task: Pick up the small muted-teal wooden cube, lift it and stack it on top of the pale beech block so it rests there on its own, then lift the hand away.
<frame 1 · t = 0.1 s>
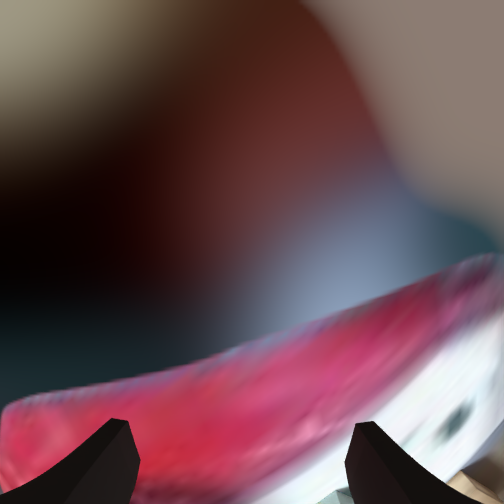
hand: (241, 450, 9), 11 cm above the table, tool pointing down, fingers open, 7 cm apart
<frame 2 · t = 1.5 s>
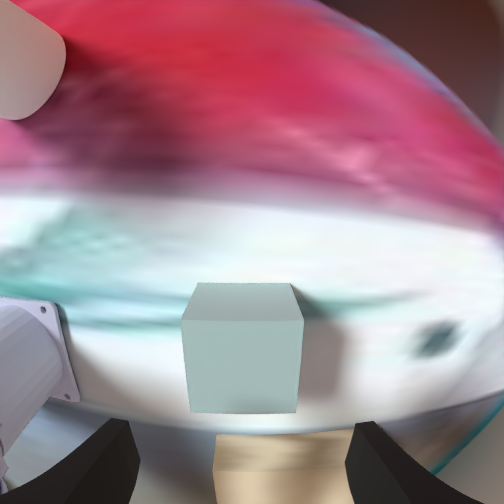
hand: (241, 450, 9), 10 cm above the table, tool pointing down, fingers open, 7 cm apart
can: (32, 75, 15), on the table
beech block: (293, 475, 22), on the table
teal cube: (243, 323, 18), on the table
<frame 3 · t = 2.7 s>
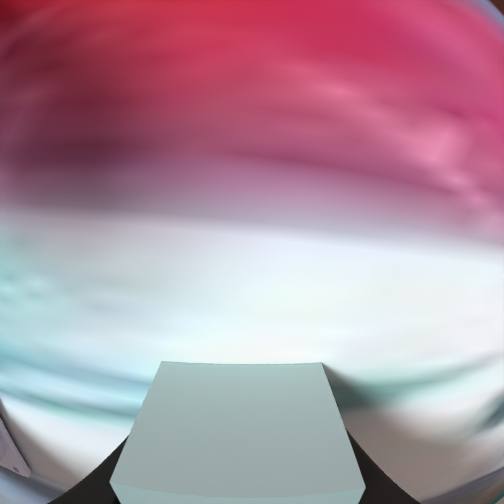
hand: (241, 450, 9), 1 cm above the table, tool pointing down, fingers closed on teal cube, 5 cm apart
teal cube: (241, 421, 10), on the table, touching gripper
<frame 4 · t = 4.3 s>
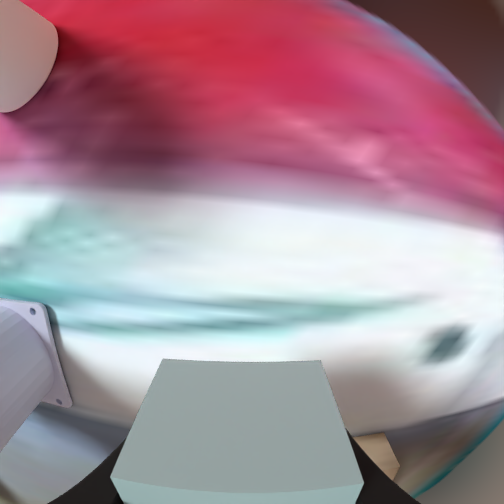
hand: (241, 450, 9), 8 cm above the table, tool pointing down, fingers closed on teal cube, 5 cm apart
can: (24, 66, 13), on the table
beech block: (294, 484, 20), on the table
teal cube: (242, 419, 10), point 7 cm above the table, touching gripper
when the fingers open (6 cm above the table, at t = 6.2 s): teal cube drops 1 cm, resting on beech block.
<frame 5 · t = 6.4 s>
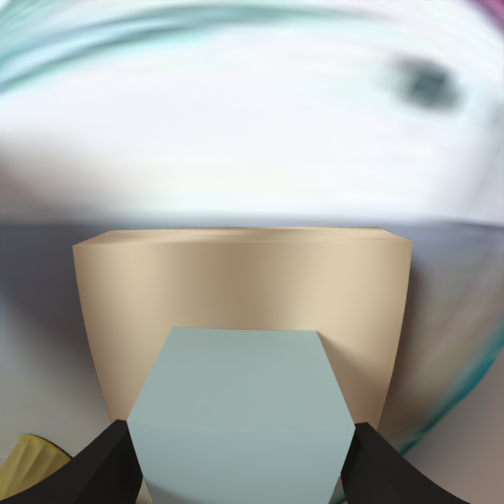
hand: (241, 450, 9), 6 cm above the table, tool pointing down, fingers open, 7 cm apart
vase: (51, 458, 18), on the table
beech block: (244, 347, 15), on the table, touching teal cube
teal cube: (242, 387, 11), point 3 cm above the table, touching beech block
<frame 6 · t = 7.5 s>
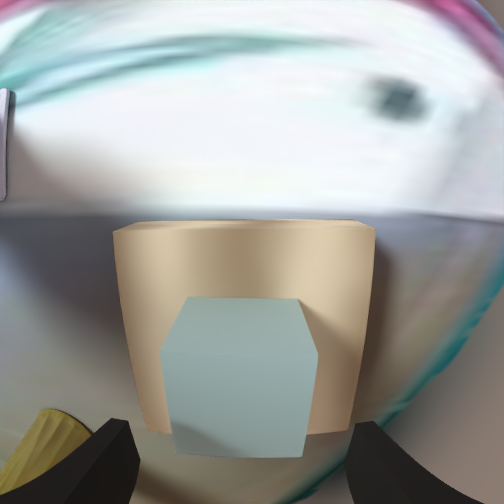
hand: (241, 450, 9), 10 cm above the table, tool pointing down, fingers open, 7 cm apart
vase: (68, 432, 21), on the table
beech block: (245, 319, 19), on the table, touching teal cube
teal cube: (241, 346, 15), point 3 cm above the table, touching beech block
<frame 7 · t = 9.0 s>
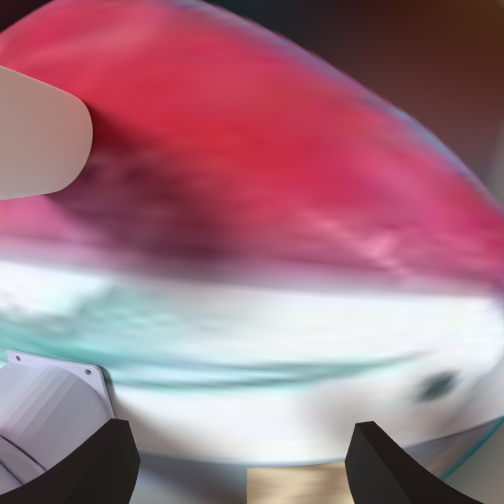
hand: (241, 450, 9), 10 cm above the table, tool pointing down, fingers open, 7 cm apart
can: (55, 142, 16), on the table
beech block: (309, 495, 24), on the table
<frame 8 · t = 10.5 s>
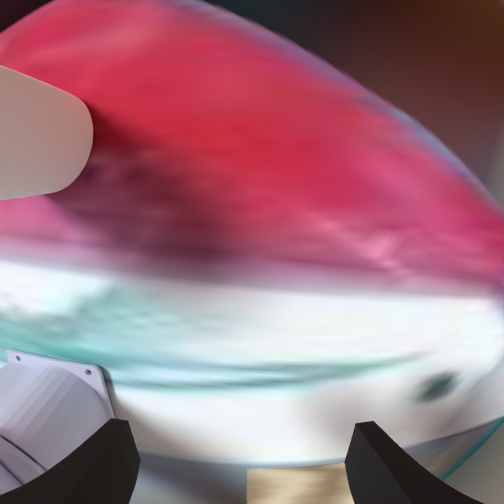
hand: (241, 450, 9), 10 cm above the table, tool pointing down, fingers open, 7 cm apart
can: (56, 142, 16), on the table
beech block: (309, 496, 24), on the table
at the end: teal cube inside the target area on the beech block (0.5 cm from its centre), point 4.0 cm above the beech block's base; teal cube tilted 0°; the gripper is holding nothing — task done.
